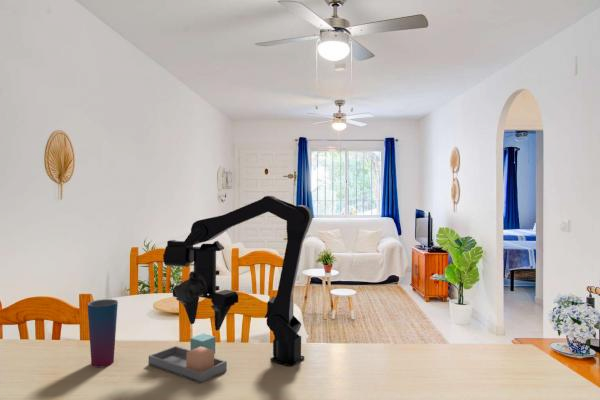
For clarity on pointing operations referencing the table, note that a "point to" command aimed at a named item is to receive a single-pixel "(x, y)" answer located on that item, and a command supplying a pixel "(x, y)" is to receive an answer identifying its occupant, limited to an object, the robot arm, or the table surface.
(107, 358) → the cup
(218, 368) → the tray
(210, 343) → the teal block
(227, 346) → the table surface
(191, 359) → the terracotta block
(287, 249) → the robot arm
